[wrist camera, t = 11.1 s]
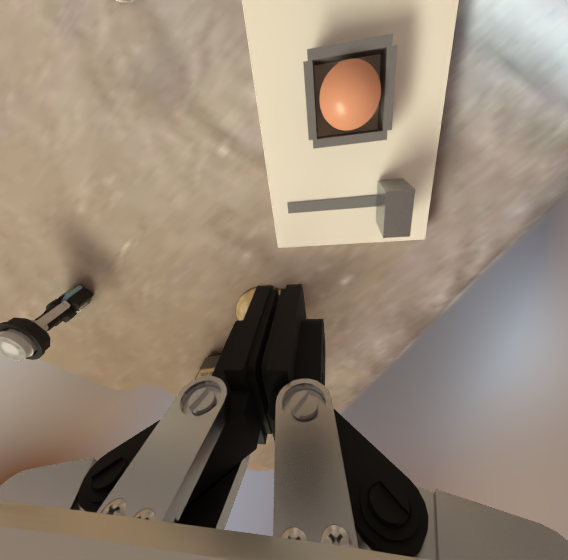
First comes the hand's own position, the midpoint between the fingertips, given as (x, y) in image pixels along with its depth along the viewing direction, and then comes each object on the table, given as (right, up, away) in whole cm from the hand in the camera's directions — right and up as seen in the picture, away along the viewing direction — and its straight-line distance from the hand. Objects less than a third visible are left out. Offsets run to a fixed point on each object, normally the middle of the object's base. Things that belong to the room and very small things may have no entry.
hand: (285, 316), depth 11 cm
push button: (-29, -1, +28) cm, 41 cm away
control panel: (+5, +16, +12) cm, 21 cm away
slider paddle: (+9, +8, +14) cm, 18 cm away
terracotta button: (+5, +15, +10) cm, 19 cm away
